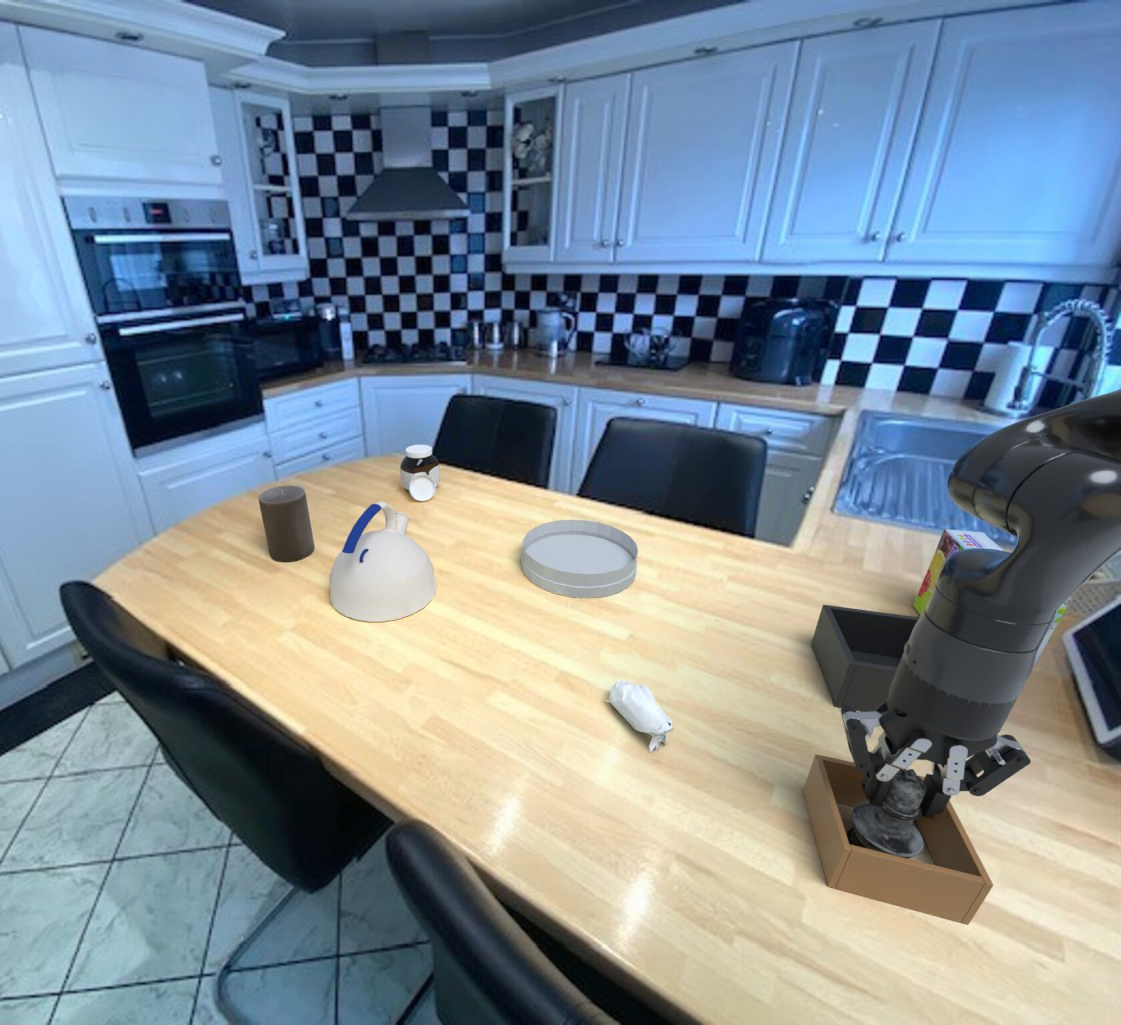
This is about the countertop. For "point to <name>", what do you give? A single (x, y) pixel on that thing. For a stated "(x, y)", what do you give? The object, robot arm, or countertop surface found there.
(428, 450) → the spread jar
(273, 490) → the pillar candle
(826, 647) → the open box
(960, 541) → the snack box
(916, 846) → the dark grey chess piece
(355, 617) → the kettle
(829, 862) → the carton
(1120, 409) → the robot arm
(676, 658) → the countertop surface
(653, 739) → the white oblong lumpy piece
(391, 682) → the countertop surface
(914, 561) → the countertop surface
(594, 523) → the dish
